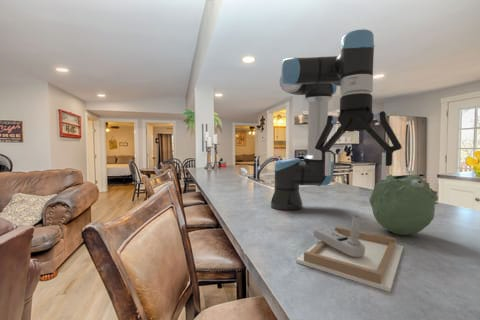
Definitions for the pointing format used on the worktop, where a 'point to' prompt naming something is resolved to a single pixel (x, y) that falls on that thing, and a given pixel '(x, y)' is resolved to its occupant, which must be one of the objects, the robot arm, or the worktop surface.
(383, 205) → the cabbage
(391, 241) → the wooden framed canvas
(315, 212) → the worktop surface
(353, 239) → the electronic device
